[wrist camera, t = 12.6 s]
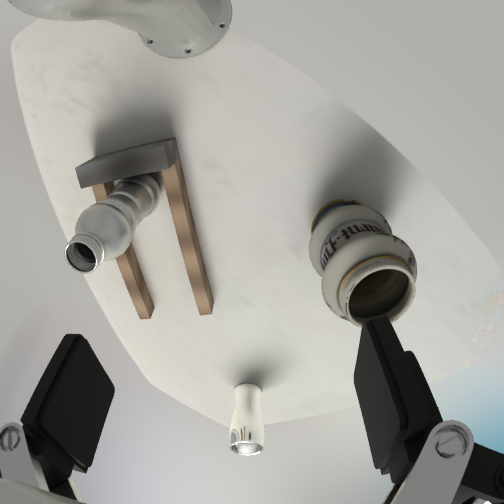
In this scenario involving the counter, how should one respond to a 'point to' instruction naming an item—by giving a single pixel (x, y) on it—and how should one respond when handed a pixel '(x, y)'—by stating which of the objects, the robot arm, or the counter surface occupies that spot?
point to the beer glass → (247, 421)
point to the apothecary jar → (361, 263)
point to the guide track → (167, 160)
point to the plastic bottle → (111, 223)
